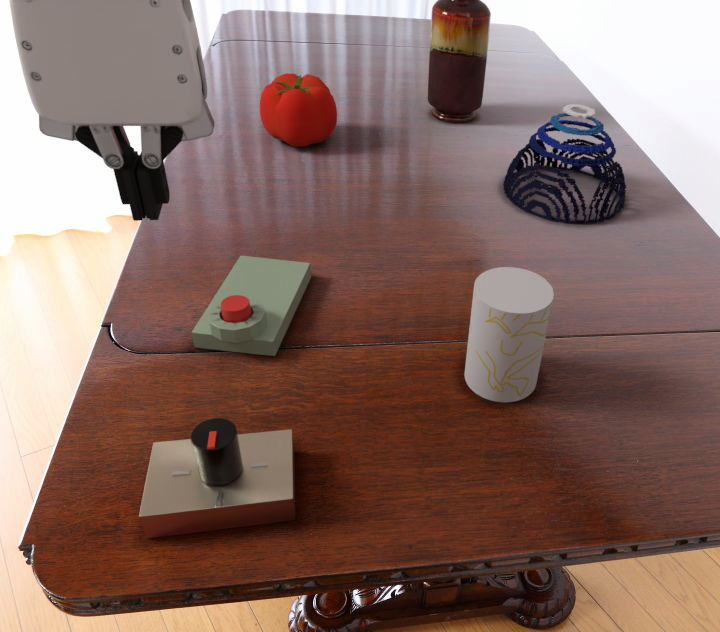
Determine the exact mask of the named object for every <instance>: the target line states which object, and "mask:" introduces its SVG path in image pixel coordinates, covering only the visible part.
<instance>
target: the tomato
mask: <svg viewBox="0 0 720 632" xmlns="http://www.w3.org/2000/svg"><path fill="white" fill-rule="evenodd" d="M259 114H260V120H261V123H262V126H263V128H264V130H266V132H267V133H268V135H270V136H271V137H273V138H274V139H276V140H279V141H284V142H285V143H286V144H287V145H289V146H292V147H295V148H300V147H301V148H302V147H307V146H310V145H317V144H320V143H322V142H324V141H325V140H327V139H329V138H330V136H331V135H332V134H333V132H334V131H335V130H336V126H337V122H338V109H337V105H336V101H335V98H334V96H333V95H332V93H331V91H330V88H329V86H328V85H327V84H326V83H325V82H324V81H323V80H322V79H321V78H320V77H319V76H316V75H313V74H311V73H306V74H304V75H303V76H302V75H301V74H300V75H298V74H296V73H282V74H281V75H278V76H276V77H274V79H273V80H271V82H270V83H269V84H267V85H265V86H264V88H263V89H262V92H261V93H260V99H259Z"/></svg>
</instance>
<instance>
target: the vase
mask: <svg viewBox="0 0 720 632" xmlns="http://www.w3.org/2000/svg"><path fill="white" fill-rule="evenodd" d="M490 10H491V9H490V8H489V7H488V6H487V4H486V3H485V2H484V1H482V0H437V1H436V2H434V4H433V5H432V8H431V20H430V36H429V37H430V38H429V55H428V57H429V59H428V75H427V76H428V77H427V78H428V79H427V102H428V103H429V105H430V106H432V107H433V108H432V110H431V115H432V117H433V118H435V119H436V120H438V121H441V122H444V123H450V124H467V123H471V122H473V121H474V120H475V119H476V117H477V114H476V113H477V112H476V111H477V110H479V109H481V107H482V104H483V99H484V98H483V97H484V89H485V81H486V80H485V79H486V71H487V70H486V69H487V60H488V59H487V58H488V52H489V42H490V41H489V40H490V31H491V18H492V14H491V11H490Z"/></svg>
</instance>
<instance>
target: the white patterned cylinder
mask: <svg viewBox="0 0 720 632" xmlns="http://www.w3.org/2000/svg"><path fill="white" fill-rule="evenodd" d="M554 296H555V293H554V289H553V286H552V285H551V283H550V282H549V281H548V280H547V279H545V278H544V276H541V275H540V274H538V273H535V272H534V271H531V270H528V269H525V268H520V267H513V266H502V267H501V266H500V267H495V268H491V269H488V270H485V271H483V272H482V273H481V274H479V275H478V276H477V277H476V279H475V281H474V283H473V291H472V301H471V310H470V320H469V329H468V338H467V345H466V355H465V363H464V365H465V366H464V381H465V383H466V385H467V386H468V388H469V389H470V390H471V391H472V392H473V393H474V394H476V395H477V396H479V397H481V398H483V399H485V400H488V401H491V402H496V403H515V402H518V401H521V400H524V399H526V398H528V397H529V396H530V395H531V394H532V393H533V392H534V390H535V389H536V386H537V382H538V377H539V373H540V369H541V368H540V367H541V363H542V358H543V357H542V356H543V352H544V349H545V347H544V346H545V343H546V336H547V333H548V332H547V331H548V327H549V322H550V316H551V312H552V306H553V302H554Z"/></svg>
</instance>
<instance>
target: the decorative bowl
mask: <svg viewBox="0 0 720 632" xmlns="http://www.w3.org/2000/svg"><path fill="white" fill-rule="evenodd" d="M573 109H579V110H583V111H586V113H582V112H576V111H574V110H573ZM596 114H597V113H596V109H595V108H591V107H590V106H587V105H583V104H577V103H570V104H566V105H565V106H563V108H562V112H559V113H557V114H556V115H555V114H553V115H552V116H551V117H550V119H549V121H548V122H546V123H545V124H543V125H541V126H540V127H538V128H537V130H536V132H535V133H533V134H532V135H530V138H529V140H528V143H527V144H525V146H524V147H523V148H521V149H520V150H518V152H517V153H516V155H515V157H514V158H512V160H511V162H510V164H509V165H508V167H507V169H506V174H505V176H504V181H503V184H502V186H503V191H504V195H506V198H508V200H509V201H510V202H511V203H512V204H513V205H514V206H516V207H517V208H520V210H522V211H524V212H525V213H528V214H530V215H534V216H537V217H539V218H541V219H545V220H548V221H552V222H556V223H557V222H558V223H559V222H561V223H564V224H571V223H572V224H574V225H578V224H579V225H581V224H582V225H585V224H587V225H589V224H596V223H598V222H599V223H602V222H604V221H606V220H611V219H614V218H615V217H616V216H617V215H618V214H619V213H620V212H621V211H622V210H623V209H624V207H625V203H626V194H627V189H626V188H627V184H626V181H625V180H626V179H625V174H624V171H623V167H622V166H621V163H618V161H614V159H613V158H614V157H615V155H616V153H617V149H616V148H617V147H615V143H614V141H613V140H612V137H610V135H609V133H608V132H606V131H605V130H604V126H605V124H604V123H602V121H600V120H598V119H597V118H595V117H594V116H595V115H596ZM563 117H575V118H583V119H586V120H588V121H592V122H593V123H594V124H591V123H588V122H584V121H578V120H572V119H571V120H568V119H562V120H561V118H563ZM567 125H568V126H567ZM572 125H573V126H578V127H584V128H586V129H582V128H581V129H580V128H578V127H571V126H572ZM550 126H551V127H550ZM549 132H562V133H565V134H568V135H569V134H571V135H574V136H575V135H576V136H582V137H583V136H590V137H593V138H595V139H597V140H599V141H601V142H600V143H596V142H592V141H589V140H586V139H583V138H582V139H580V138H576V139H575V138H567V140H564V141H562V142H561V141H560V140H557V139H556V138H553V137H552V136H549V134H548V133H549ZM603 136H604V137H603ZM546 145H547V146H550V147H551V148H552V150H551V152H550V151H548V150H547V147H546ZM609 148H610V149H611V151H610V152H608V150H609ZM559 150H560V151H559ZM527 154H528V155H527ZM569 155H570V156H569ZM528 156H529V157H530V158H529V157H528ZM522 158H523V159H522ZM529 160H530V165H529ZM559 161H560V163H559ZM545 163H546V164H545ZM569 165H570V167H568V166H569ZM586 167H588V168H590V170H591V171H592V173H591V172H588V171H585V170H582V169H584V168H586ZM539 169H540V170H544V171H547V172H550V173H553V174H556V176H557V177H560V178H557V177H555V176H552V175H548V174H546V173H544V172H541V171H539ZM562 170H564V171H571V172H574V173H577V174H582V175H585V176H589V177H592V178H593V179H596V180H599V181H600V182H599V183H598V185H597V186H596V189H595V191H594V193H593V195H592V199H591V201H590V204H589V206H588V209H589V214H586V210H587V205H586V204H587V203H585V201H586V200H585V199H584V198H585V196H583V195H584V194H583V193H582V191H581V189H580V187H578V186H579V185H577V181H576V180H575V178H571V175H570V173H568V172H563V171H562ZM526 173H528V174H526ZM525 174H526V175H525ZM538 177H539V178H541V179H543V180H546V181H550V182H552V183H557V186H556V185H554V184H550V183H549V184H548V183H546V182H544V181H542V180H539V179H537V178H538ZM532 178H534V179H532ZM563 178H565V179H563ZM530 179H532V180H531V181H530V182H528V183H526V180H527V181H529V180H530ZM521 183H526V184H524V185H522V186H521ZM566 183H568V184H569V186H567V184H566ZM601 185H602V186H601ZM520 186H521V187H520ZM571 186H572V188H573V191H571V190H569V189H570V187H571ZM608 187H609V189H608ZM516 189H517V191H516ZM534 189H535V190H534ZM607 189H608V191H607V192H606V190H607ZM531 190H533V191H531ZM542 190H543V191H546V193H545V192H543V191H542ZM515 191H516V193H514V192H515ZM528 191H530V192H528ZM563 191H564V193H565V195H566V196H567V198H570V199H569V203H570V204H572V206H571V207H572V208H573V209H572V213H573V218H574V220H572V218H571V212H570V209H569V205H568V203H567V202H566V201H565V199H564V197H563V196H564V193H563ZM526 192H527V193H526ZM574 192H575V193H576V195H577V198H578V201H579V203H581V204H580V208H581V212H582V217H583V219H578V218H579V217H578V216H579V214H580V208H579V205H578V203H577V199H576V197H575V195H574ZM524 193H526V194H524ZM605 193H606V195H605V197H604V194H605ZM613 193H615V194H614V197H613V198H612V199H611V196H612V195H613ZM522 194H524V195H523V196H522ZM535 195H537V196H540V197H542V198H544V199H545V198H546V199H547V201H548V202H550V204H551V205H552V206H554V210H555V213H556V217H554V215H553V214H552V213H553V212H552V211H551V210H552V209H551V207H550V206H549V205H547V203H546V202H543V201H540V200H537V199H535V198H532V197H534V196H535ZM551 195H553V196H551ZM553 197H554V198H555V199H553ZM618 197H619V199H618V201H616V200H617V198H618ZM529 198H532V199H530V200H528V199H529ZM527 200H528V201H527ZM556 200H558V201H556ZM525 201H526V205H525ZM557 202H559V204H560V206H561V207H560V206H559V205H558V203H557ZM601 202H602V203H601ZM615 202H616V203H615ZM594 203H595V204H594ZM593 204H594V206H593ZM600 204H601V207H600ZM614 204H615V205H614ZM613 205H614V208H613ZM537 207H538V208H540V209H541V210H542V212H543V213H544V214H545V215H543V214H540V213H537V212H534V211H533V209H535V208H537ZM599 207H600V209H599ZM612 208H613V212H612V213H611V211H612ZM593 210H594V214H595V216H594V218H593V219H591V218H592V213H593ZM562 213H563V218H564V219H562V218H561V215H562ZM605 214H606V216H605ZM587 215H588V216H587ZM587 217H588V218H587Z"/></svg>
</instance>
